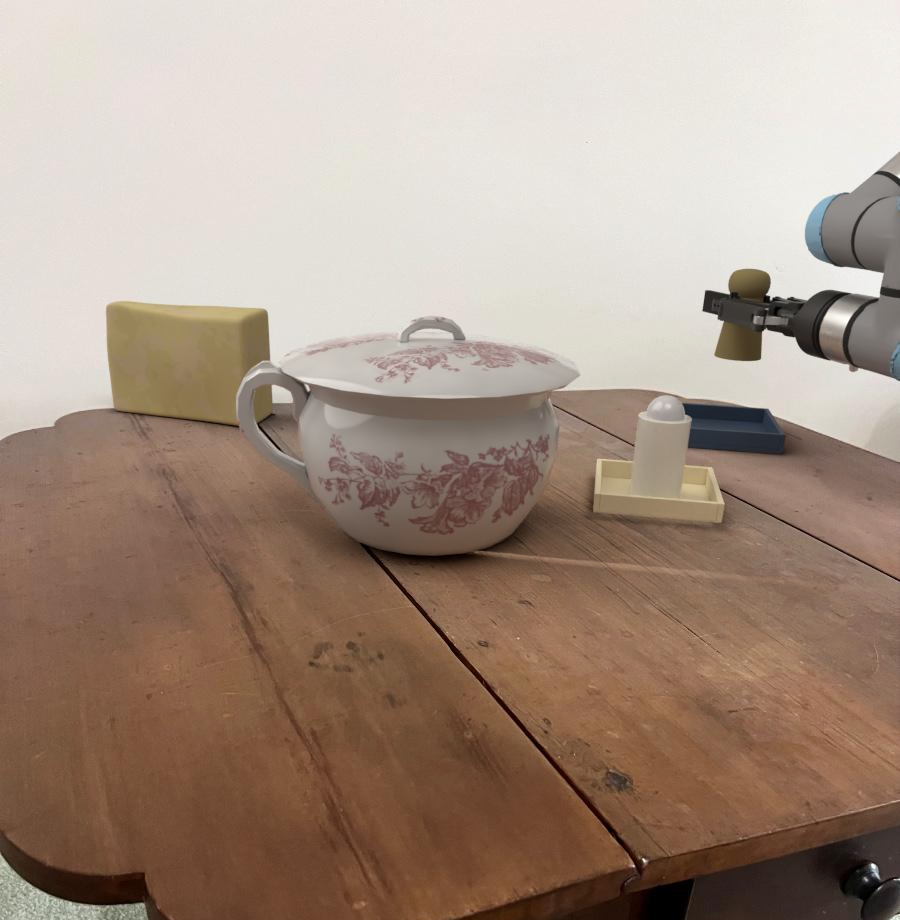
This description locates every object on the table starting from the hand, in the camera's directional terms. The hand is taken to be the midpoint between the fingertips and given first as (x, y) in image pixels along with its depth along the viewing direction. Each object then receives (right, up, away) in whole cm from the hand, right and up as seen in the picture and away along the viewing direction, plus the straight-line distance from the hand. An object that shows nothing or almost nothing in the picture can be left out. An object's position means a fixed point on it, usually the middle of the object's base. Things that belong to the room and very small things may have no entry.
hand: (721, 300), depth 124 cm
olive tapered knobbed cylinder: (+2, -8, -2) cm, 9 cm away
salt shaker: (-14, -29, -22) cm, 39 cm away
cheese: (-73, -15, +6) cm, 75 cm away
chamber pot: (-39, -34, -32) cm, 61 cm away
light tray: (-14, -30, -22) cm, 39 cm away
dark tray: (+1, -17, +5) cm, 18 cm away
